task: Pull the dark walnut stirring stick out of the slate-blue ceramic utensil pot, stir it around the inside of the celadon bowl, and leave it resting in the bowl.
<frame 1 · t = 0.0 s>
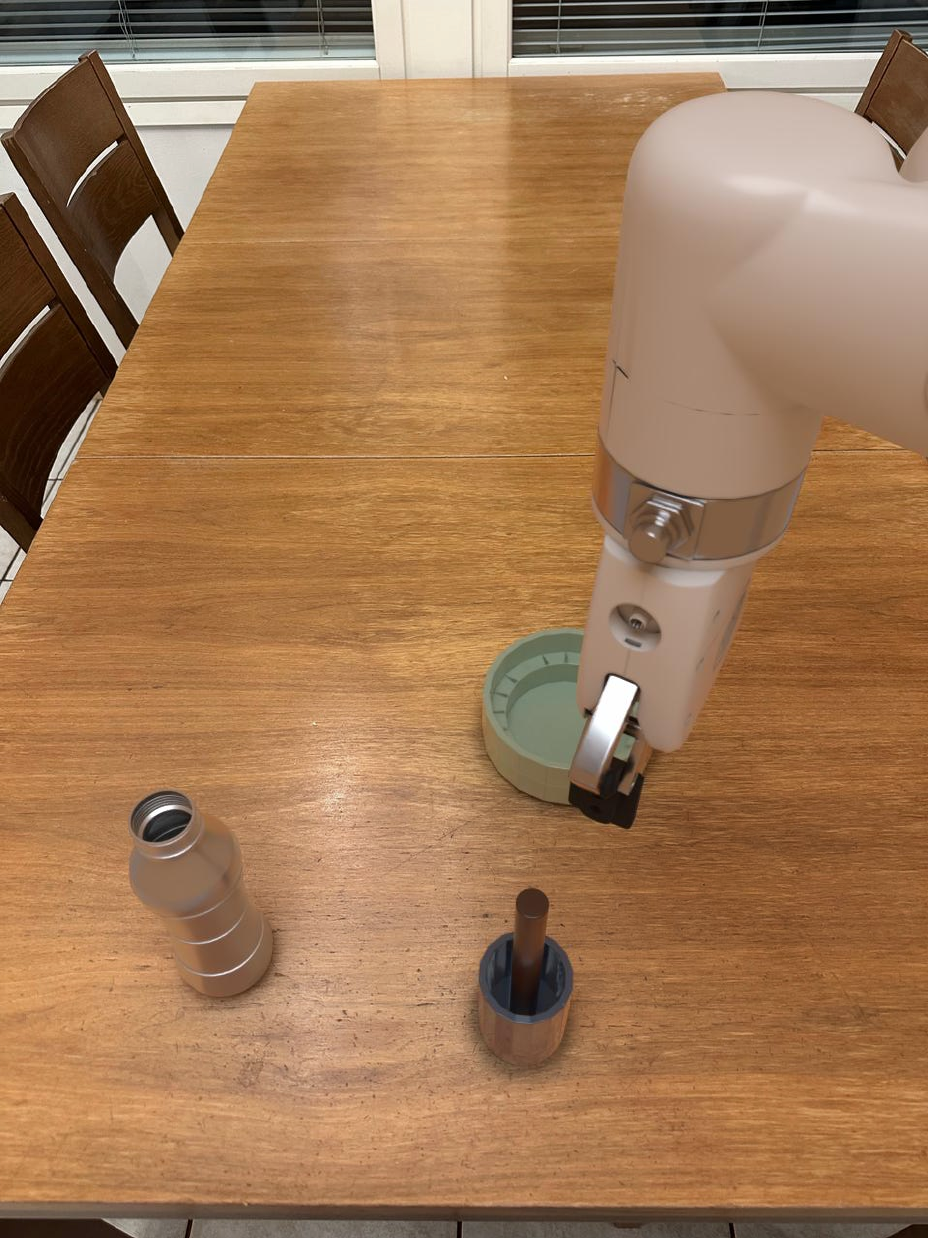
hand: (638, 737, 48), 26 cm above the table, tool pointing down, fingers open, 9 cm apart
stirring stick: (522, 1010, 63), point 2 cm above the table, touching utensil pot
plastic bottle: (232, 962, 67), on the table
bowl: (567, 734, 80), on the table
utensil pot: (521, 1021, 64), on the table
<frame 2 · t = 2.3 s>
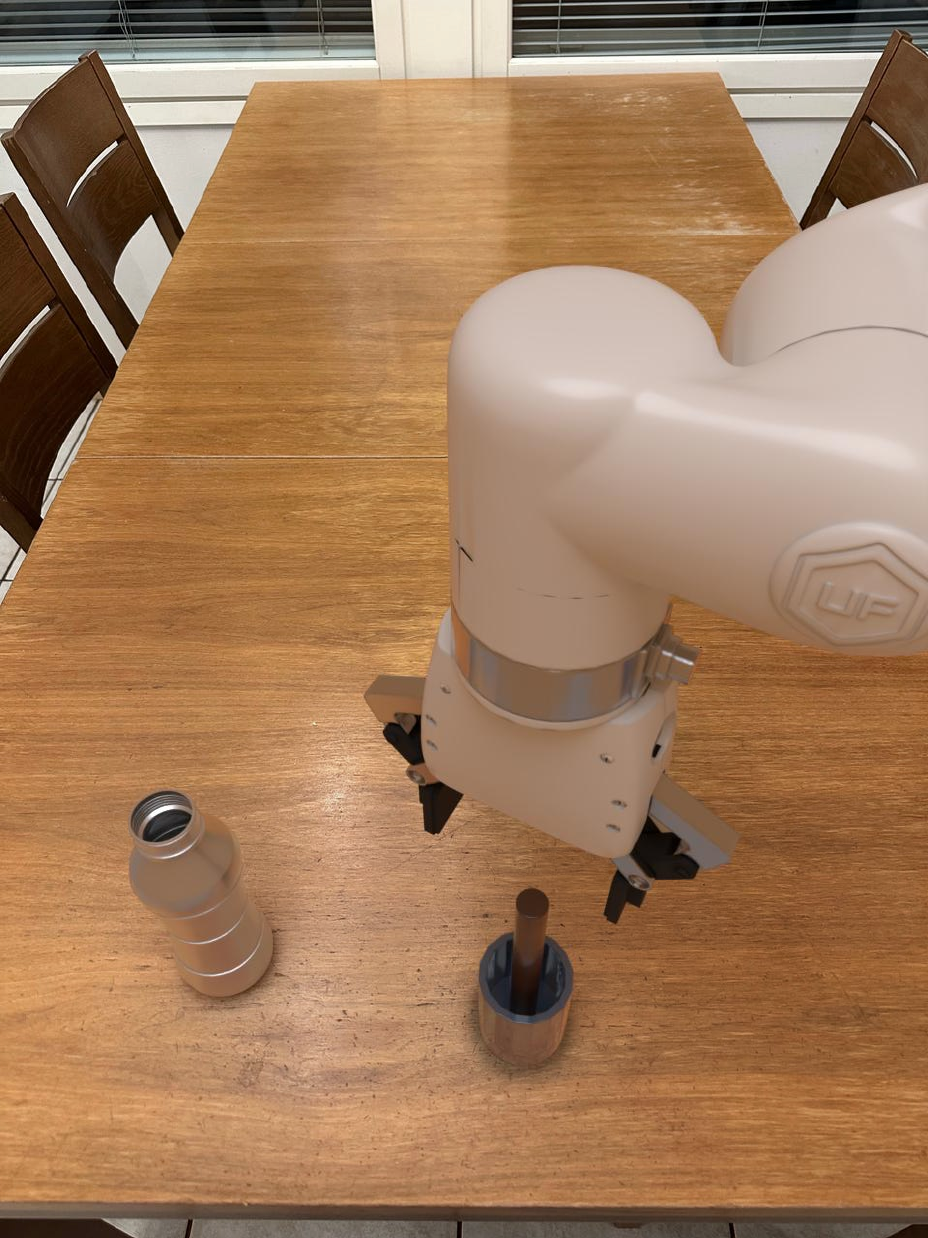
hand: (530, 852, 47), 23 cm above the table, tool pointing down, fingers open, 9 cm apart
nothing on the table moved.
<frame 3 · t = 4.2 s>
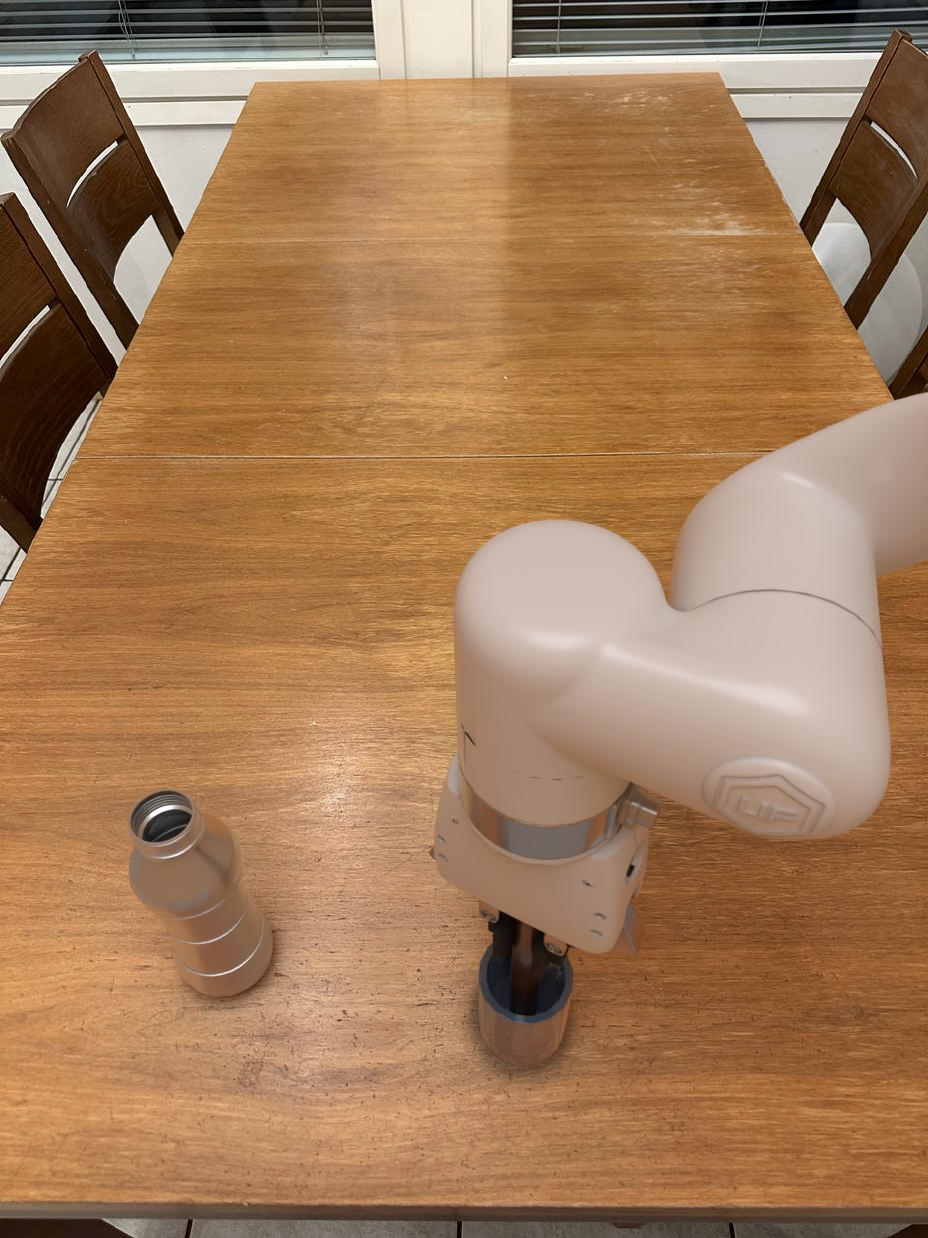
hand: (528, 944, 55), 13 cm above the table, tool pointing down, fingers closed on stirring stick, 1 cm apart
stirring stick: (522, 1010, 63), point 2 cm above the table, touching gripper, utensil pot
everything else where it was.
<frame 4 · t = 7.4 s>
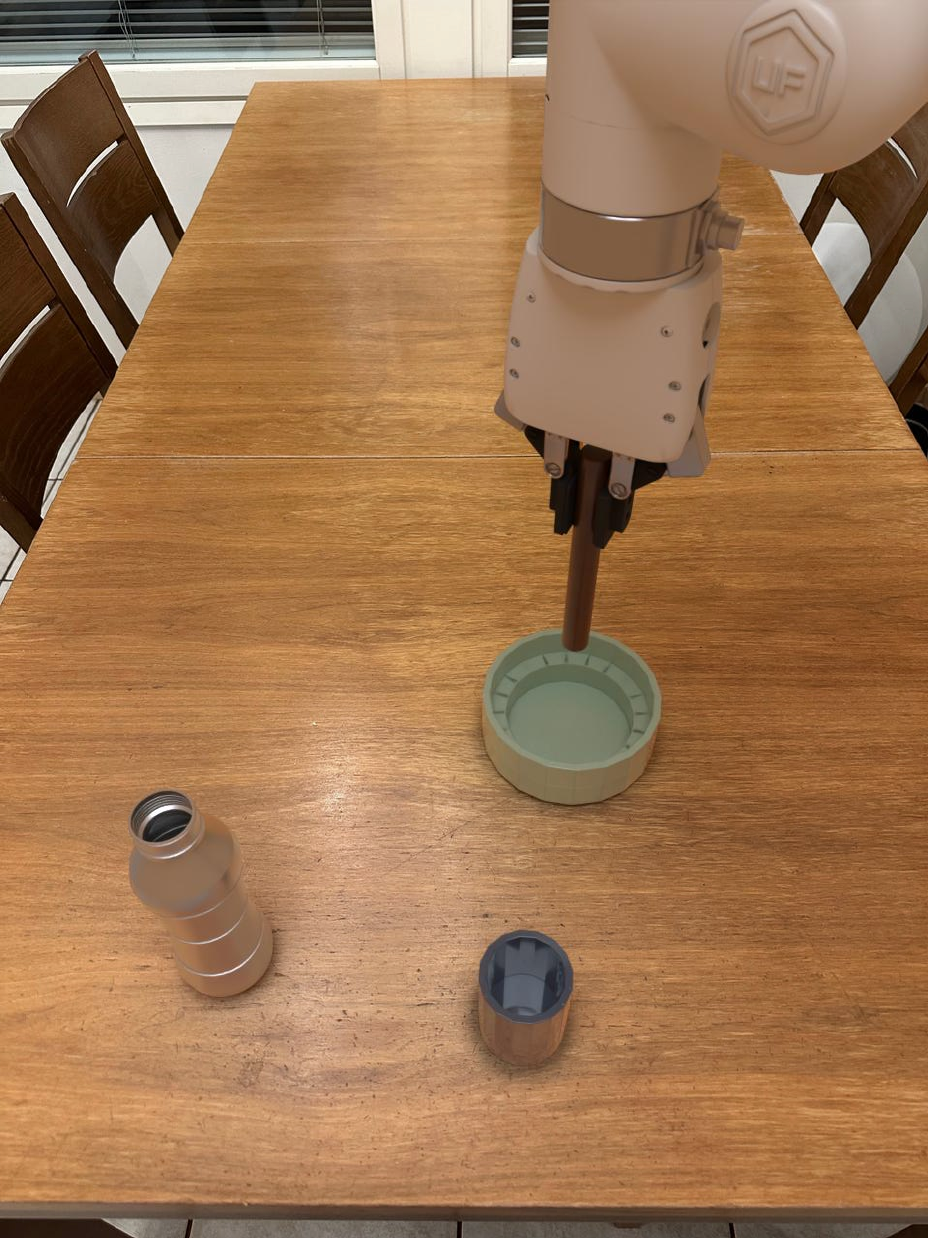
hand: (588, 525, 56), 28 cm above the table, tool pointing down, fingers closed on stirring stick
stirring stick: (574, 642, 63), point 18 cm above the table, touching gripper
everything else where it was.
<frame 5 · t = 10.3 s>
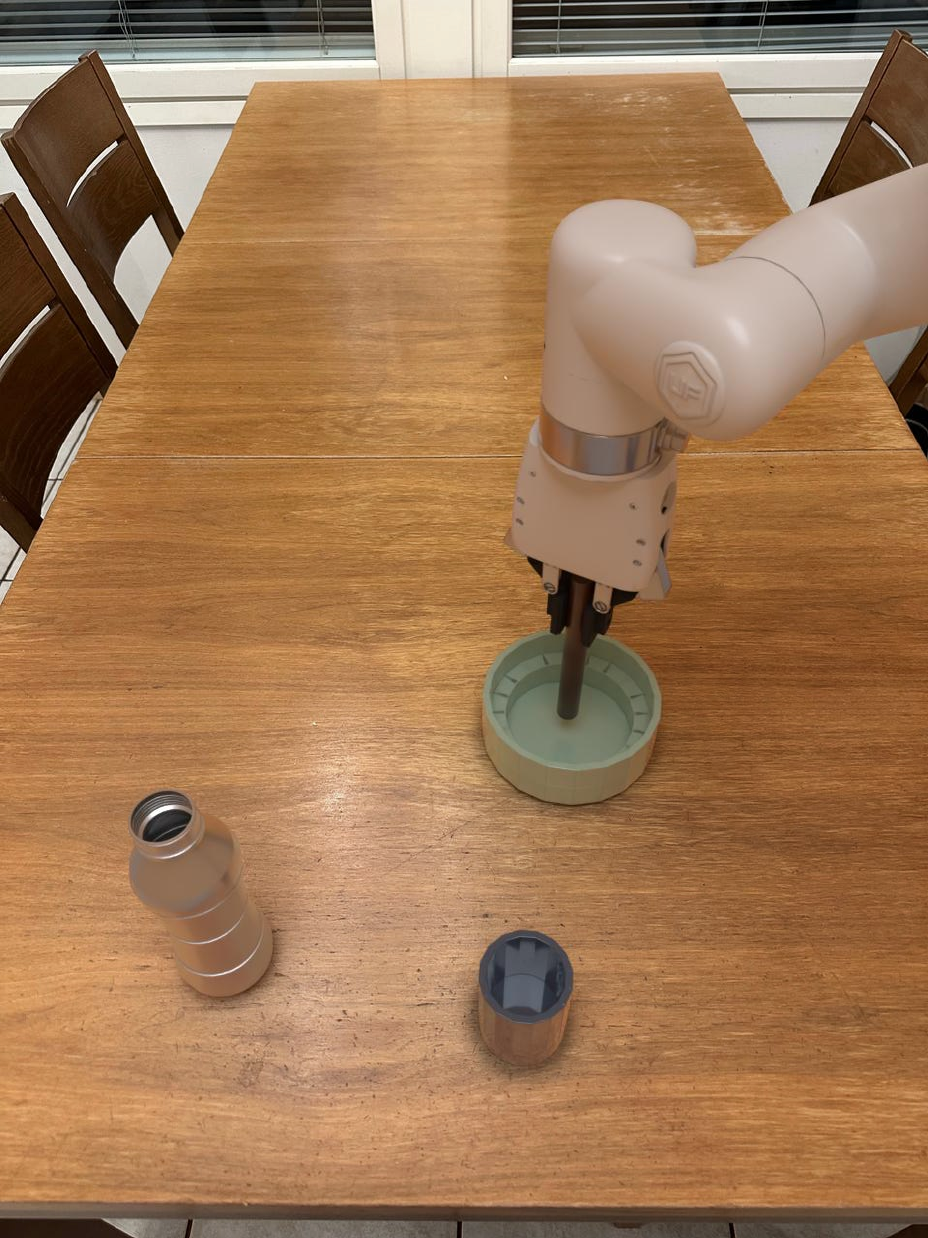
hand: (577, 626, 70), 14 cm above the table, tool pointing down, fingers closed on stirring stick, 1 cm apart
stirring stick: (567, 711, 78), point 3 cm above the table, touching gripper
everything else where it was.
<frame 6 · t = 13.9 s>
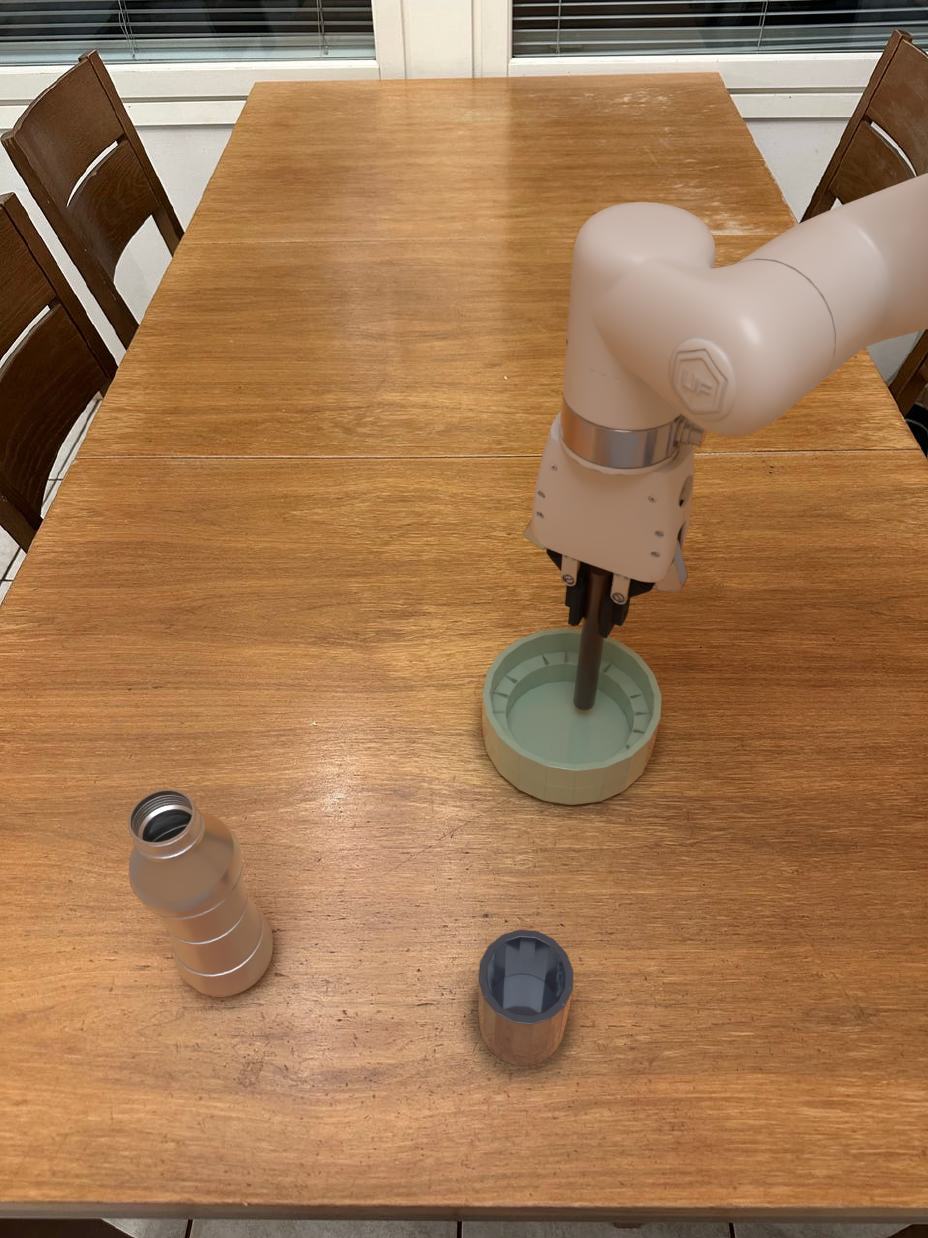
hand: (595, 618, 72), 13 cm above the table, tool pointing down, fingers closed on stirring stick, 1 cm apart
stirring stick: (583, 702, 79), point 2 cm above the table, touching gripper
everything else where it was.
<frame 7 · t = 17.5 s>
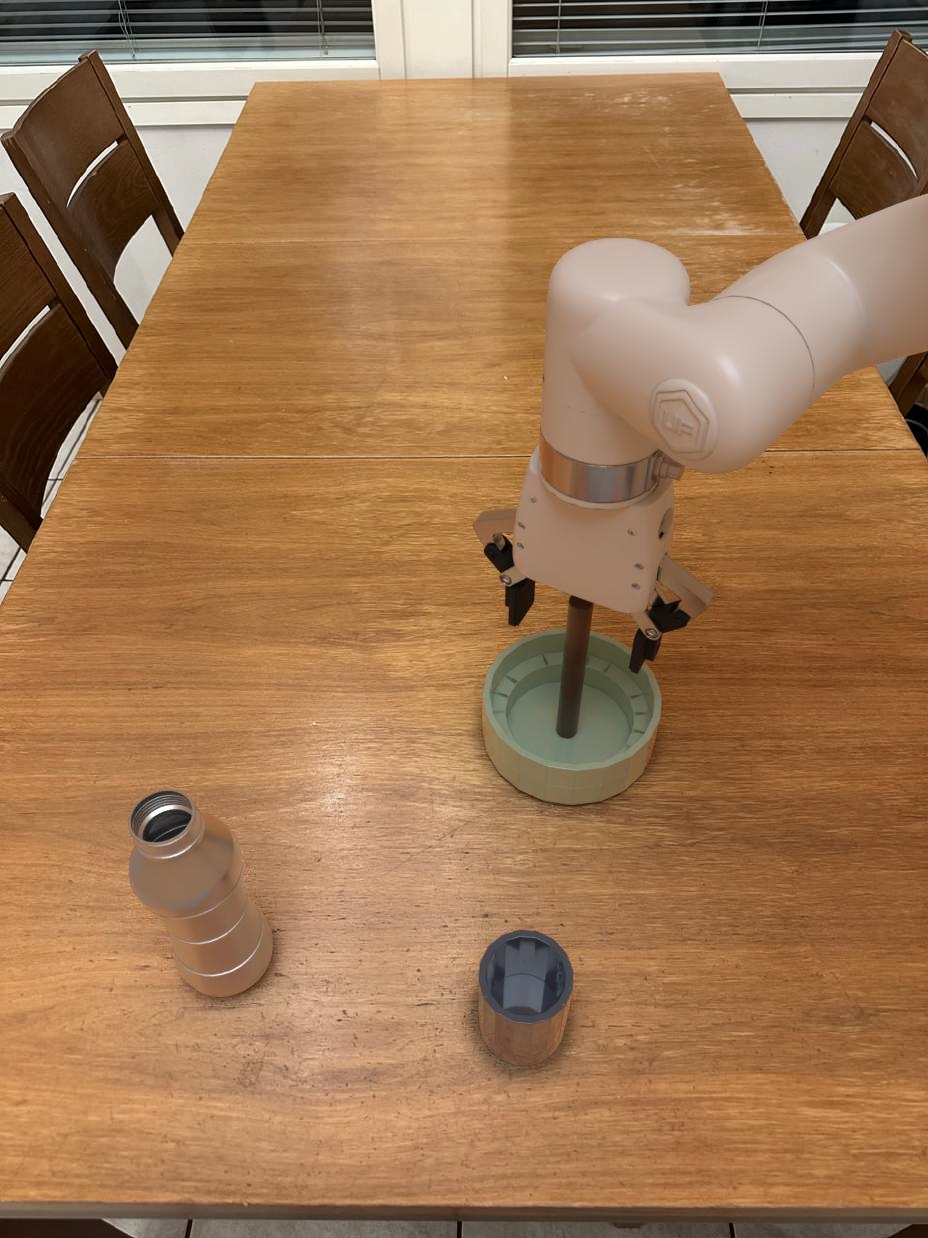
hand: (579, 636, 70), 13 cm above the table, tool pointing down, fingers open, 9 cm apart
stirring stick: (566, 730, 79), resting on bowl
everything else where it was.
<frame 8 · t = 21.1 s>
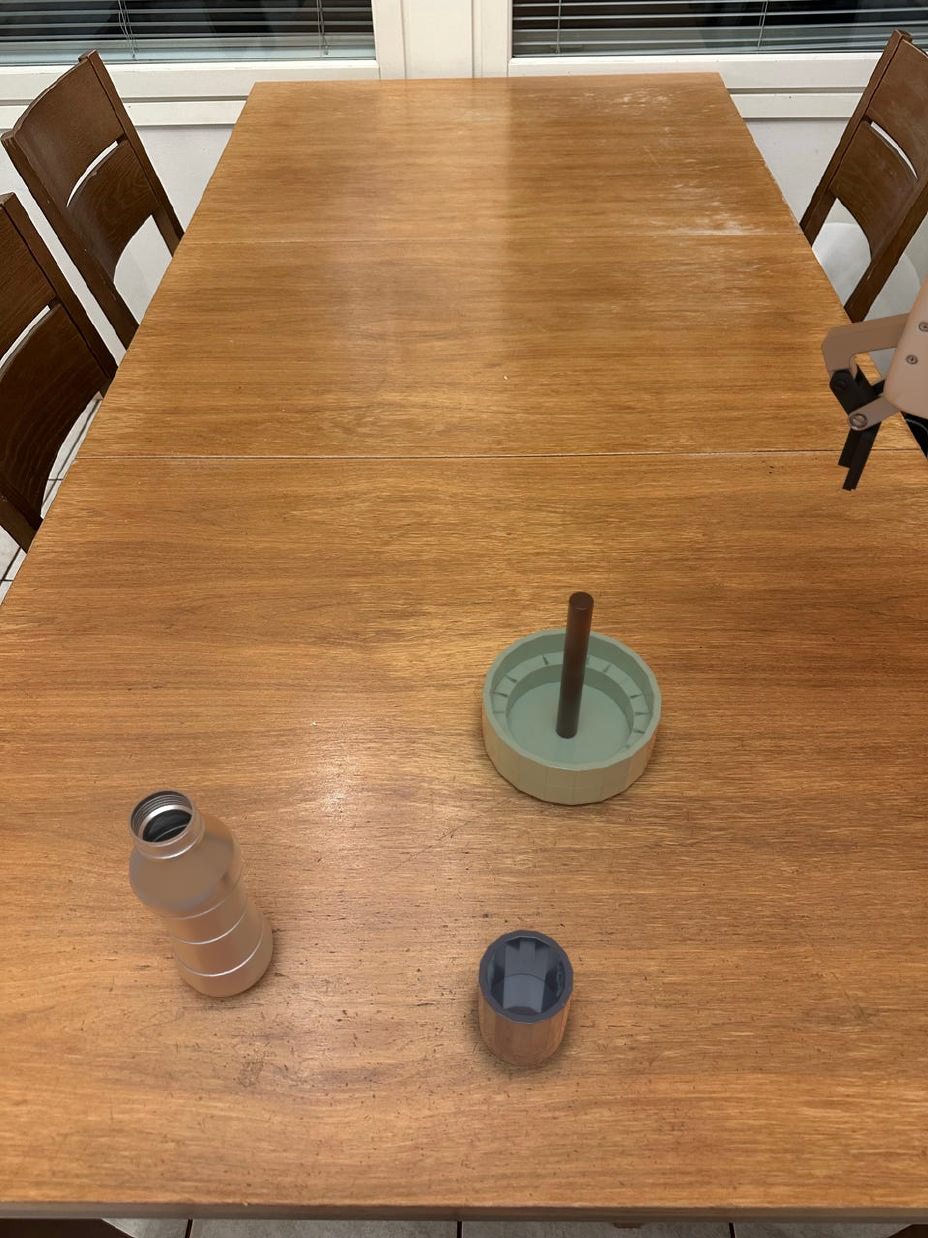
nothing on the table moved.
at the end: stirring stick inside the target area in the bowl (0.1 cm from its centre), point 0.5 cm above the bowl's base; the gripper is holding nothing; stirring stick moved 24.1 cm from its start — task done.
